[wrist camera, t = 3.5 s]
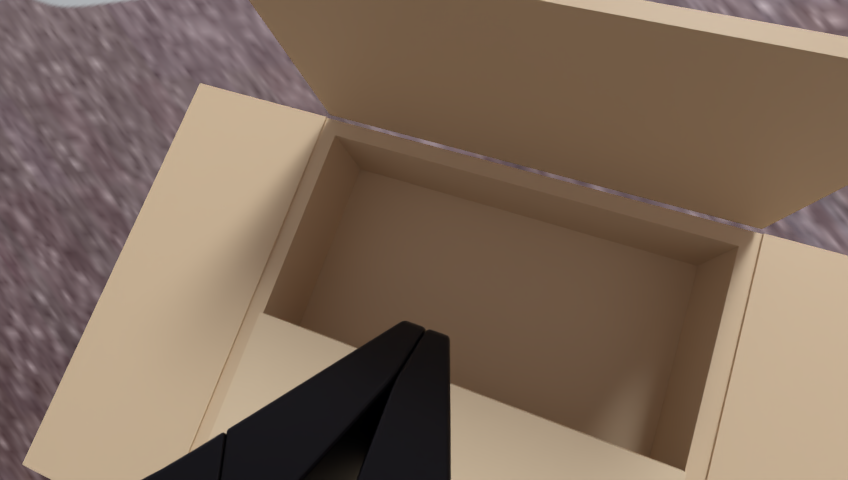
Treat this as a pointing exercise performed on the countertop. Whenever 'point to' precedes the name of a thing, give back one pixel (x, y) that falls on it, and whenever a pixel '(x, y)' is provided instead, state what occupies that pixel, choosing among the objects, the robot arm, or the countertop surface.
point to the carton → (451, 312)
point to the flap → (592, 92)
